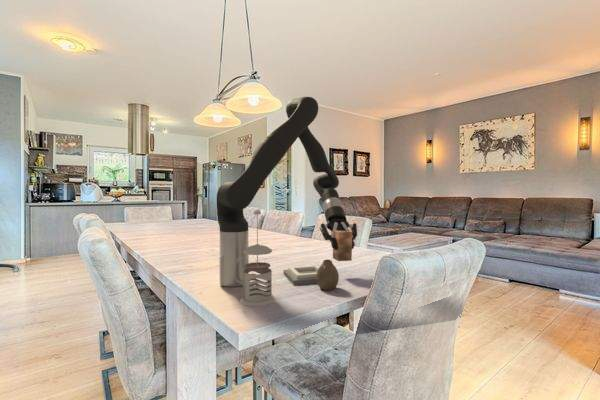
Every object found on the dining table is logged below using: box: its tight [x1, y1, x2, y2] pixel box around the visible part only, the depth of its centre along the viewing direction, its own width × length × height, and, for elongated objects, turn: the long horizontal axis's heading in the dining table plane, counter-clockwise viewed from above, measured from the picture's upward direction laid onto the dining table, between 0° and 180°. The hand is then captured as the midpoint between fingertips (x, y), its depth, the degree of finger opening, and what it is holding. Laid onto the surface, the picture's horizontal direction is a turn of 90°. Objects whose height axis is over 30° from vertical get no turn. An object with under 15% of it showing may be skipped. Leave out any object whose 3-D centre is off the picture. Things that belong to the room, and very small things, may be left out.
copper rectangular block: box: [332, 230, 353, 262], centre depth 109 cm, size 5×5×10 cm
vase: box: [316, 259, 340, 291], centre depth 96 cm, size 7×7×9 cm
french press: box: [233, 209, 276, 307], centre depth 85 cm, size 10×12×25 cm
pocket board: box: [283, 265, 320, 286], centre depth 108 cm, size 14×14×3 cm
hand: (344, 248), depth 108 cm, fingers closed on copper rectangular block, 5 cm apart
